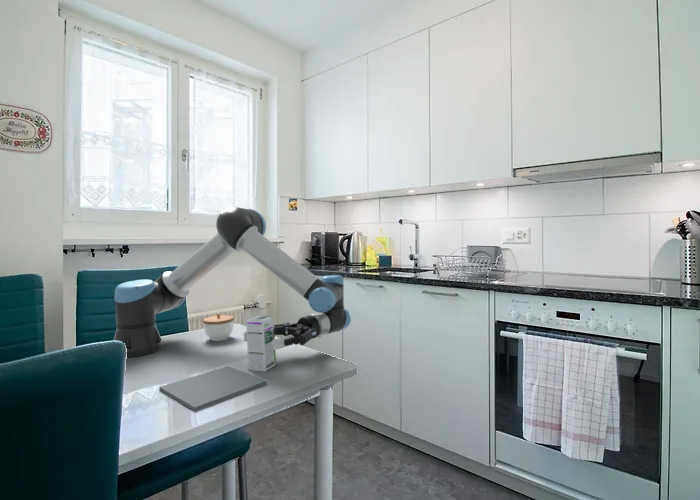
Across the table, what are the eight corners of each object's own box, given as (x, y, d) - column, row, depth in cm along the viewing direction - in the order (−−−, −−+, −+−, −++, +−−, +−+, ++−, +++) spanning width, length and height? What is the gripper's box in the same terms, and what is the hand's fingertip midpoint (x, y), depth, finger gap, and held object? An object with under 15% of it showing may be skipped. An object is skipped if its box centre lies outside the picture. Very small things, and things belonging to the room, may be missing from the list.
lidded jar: (240, 336, 142) (239, 312, 142) (219, 344, 133) (218, 317, 132) (219, 334, 147) (218, 310, 147) (197, 341, 137) (196, 315, 137)
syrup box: (265, 372, 104) (263, 320, 103) (247, 370, 106) (245, 319, 105) (276, 365, 109) (274, 315, 109) (259, 363, 111) (257, 314, 111)
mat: (159, 390, 93) (159, 386, 93) (228, 368, 107) (228, 365, 107) (194, 411, 81) (194, 407, 81) (266, 383, 95) (266, 380, 95)
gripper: (341, 344, 114) (287, 362, 98) (288, 332, 130) (234, 346, 114) (341, 319, 114) (286, 334, 98) (287, 310, 130) (233, 321, 114)
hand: (258, 340), depth 106 cm, fingers open, 13 cm apart
